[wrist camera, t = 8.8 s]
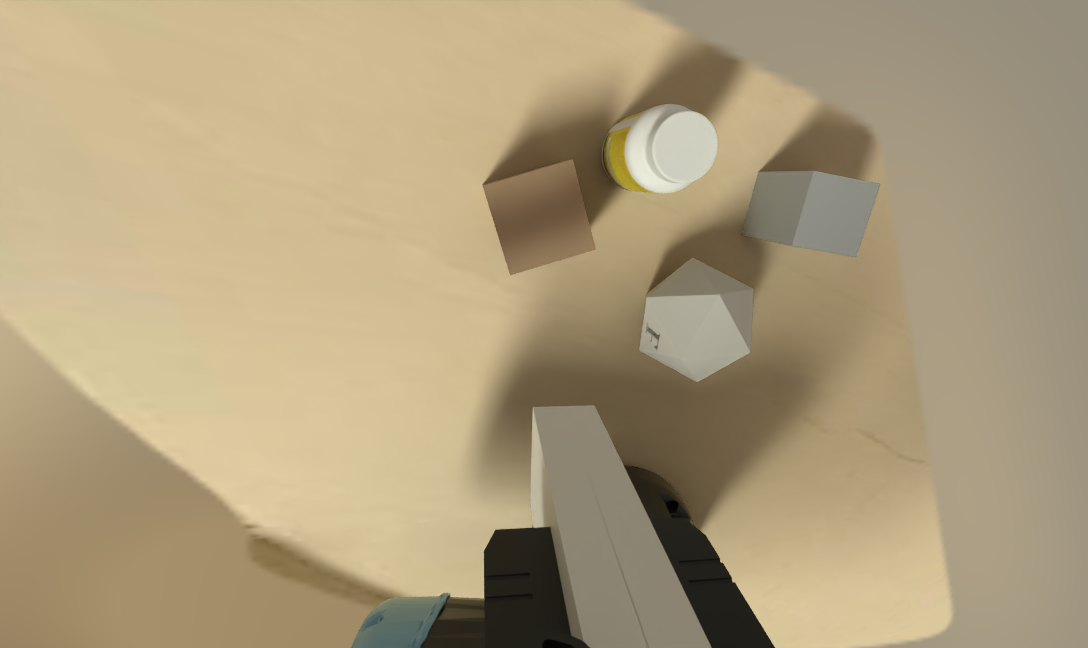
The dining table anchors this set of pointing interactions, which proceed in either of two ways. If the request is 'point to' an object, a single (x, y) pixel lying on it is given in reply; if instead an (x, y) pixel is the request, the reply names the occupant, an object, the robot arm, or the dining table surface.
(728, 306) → the die
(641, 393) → the dining table surface
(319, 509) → the dining table surface
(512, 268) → the walnut block
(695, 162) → the supplement bottle
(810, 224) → the grey block
